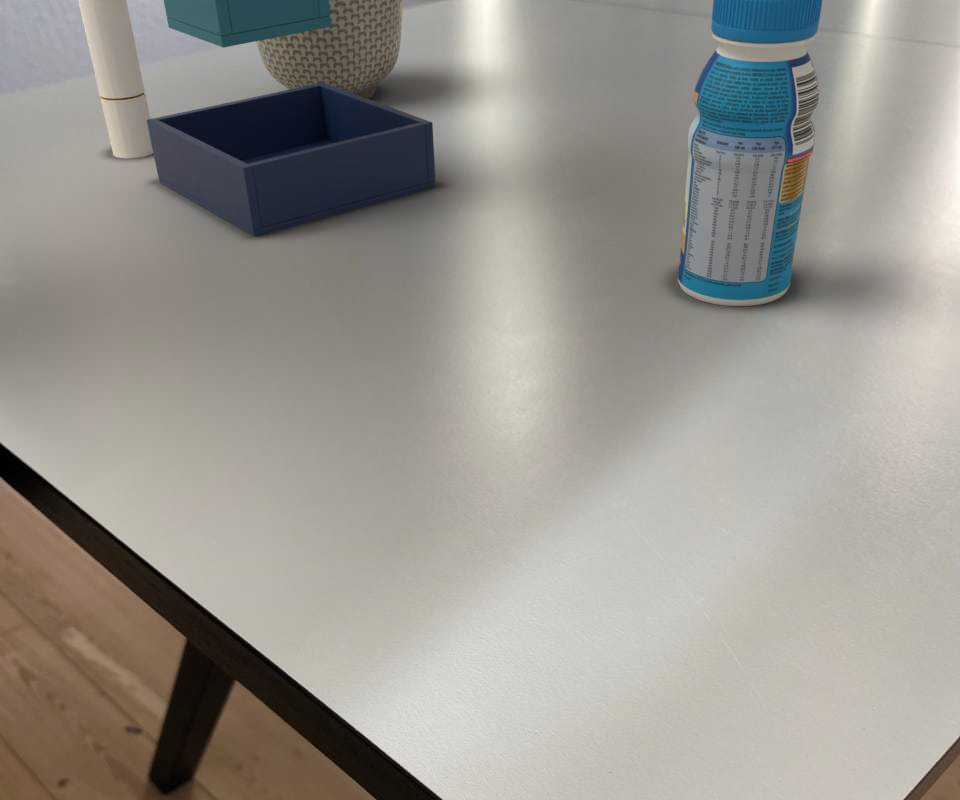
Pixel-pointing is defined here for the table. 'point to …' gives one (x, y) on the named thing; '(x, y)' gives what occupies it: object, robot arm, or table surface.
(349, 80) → the planter
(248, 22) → the teal bin
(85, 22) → the tube
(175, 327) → the table surface
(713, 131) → the beverage bottle
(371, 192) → the navy bin
